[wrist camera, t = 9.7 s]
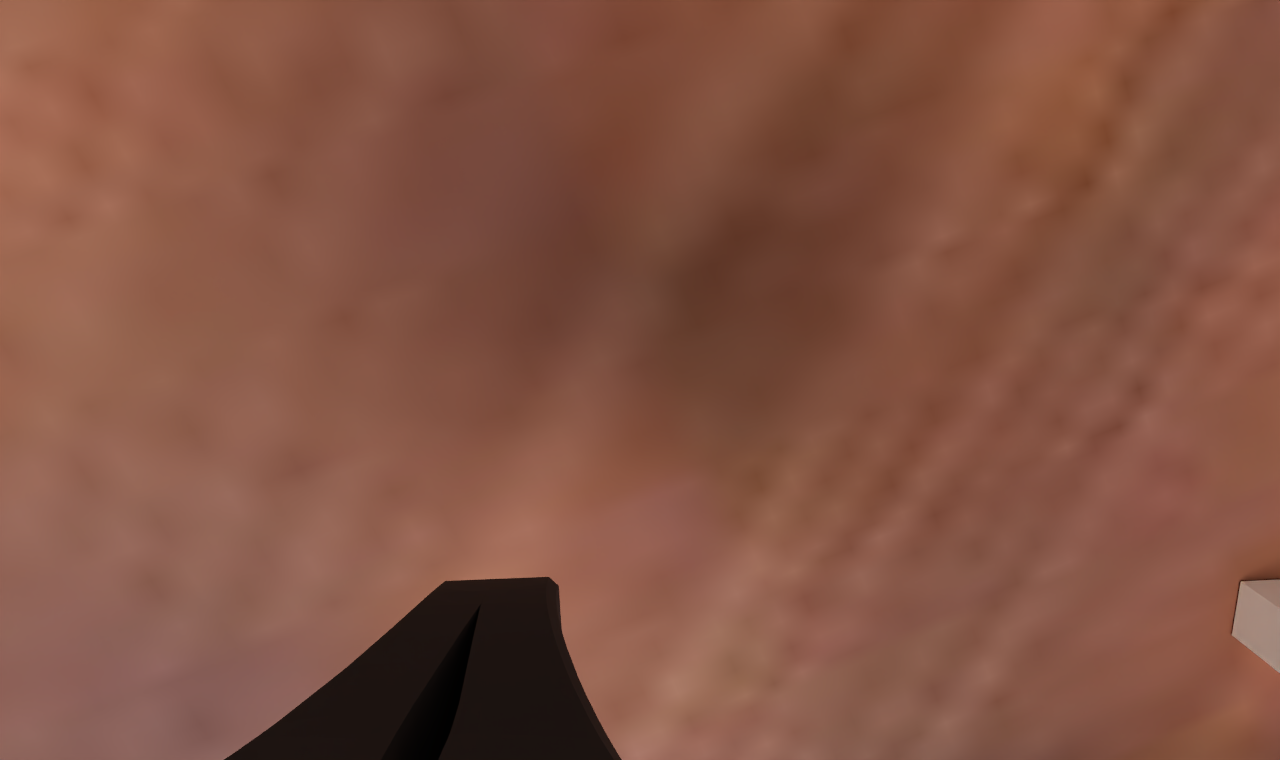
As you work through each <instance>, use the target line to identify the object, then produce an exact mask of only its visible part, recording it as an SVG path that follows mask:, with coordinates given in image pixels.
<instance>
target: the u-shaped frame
mask: <svg viewBox="0 0 1280 760" xmlns="http://www.w3.org/2000/svg"><path fill="white" fill-rule="evenodd" d="M1232 636H1233V637H1235V638H1236V639H1237V640H1238V641H1240V642H1241V643H1242V644H1244V645H1245V646H1246V647H1247V648H1249V649H1250V650H1251V651H1252V652H1254V653H1255V654H1256V655H1257V656H1259V657H1260V658H1261V659H1262V660H1264V661H1265V662H1266V663H1267V664H1269V665H1270V666H1271V667H1272V668H1274V669H1275V670H1276V671H1278V672H1279V673H1280V579H1278V580H1258V581H1241V583H1240V589H1239V595H1238V601H1237V607H1236V613H1235V619H1234V625H1233V631H1232Z"/></svg>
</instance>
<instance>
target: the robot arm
mask: <svg viewBox="0 0 1280 760" xmlns="http://www.w3.org/2000/svg"><path fill="white" fill-rule="evenodd" d="M224 760H621V758H620V757H619V755H618V753H617V752H616V750H615V748H614V747H613V745H612V743H611V742H610V740H609V738H608V736H607V735H606V733H605V731H604V729H603V727H602V726H601V724H600V722H599V720H598V718H597V716H596V714H595V712H594V710H593V708H592V706H591V704H590V702H589V700H588V698H587V696H586V694H585V692H584V689H583V687H582V685H581V683H580V680H579V678H578V676H577V673H576V670H575V668H574V665H573V663H572V660H571V657H570V655H569V652H568V650H567V647H566V644H565V640H564V637H563V634H562V630H561V615H560V600H559V586H558V585H557V584H556V583H555V582H554V581H553V580H552V579H550V578H549V577H536V578H511V579H486V580H461V581H445V582H444V583H443V584H441V585H440V586H439V587H437V588H436V589H435V590H434V591H433V592H432V593H430V594H429V595H428V596H427V597H426V598H425V599H424V600H423V601H421V602H420V603H419V604H418V605H417V606H416V607H415V608H414V609H413V610H411V611H410V612H409V613H408V614H407V615H406V616H405V617H404V618H403V619H401V620H400V621H399V622H398V623H397V624H396V625H395V626H394V627H393V628H391V629H390V630H389V631H388V632H387V633H386V634H385V635H383V636H382V637H381V638H380V639H379V640H378V641H377V642H375V643H374V644H373V645H372V646H371V647H370V648H369V649H367V650H366V651H365V652H364V653H363V654H362V655H361V656H359V657H358V658H357V659H356V660H355V661H354V662H353V663H351V664H350V665H349V666H348V667H347V668H345V669H344V670H343V671H342V672H341V673H339V674H338V675H337V676H335V677H334V678H333V679H332V680H330V681H329V682H328V683H327V684H325V685H324V686H323V687H321V688H320V689H319V690H318V691H316V692H315V693H314V694H313V695H311V696H310V697H309V698H308V699H306V700H305V701H304V702H302V703H301V704H300V705H299V706H297V707H296V708H295V709H294V710H292V711H291V712H290V713H288V714H287V715H286V716H285V717H283V718H282V719H281V720H280V721H278V722H277V723H276V724H274V725H273V726H272V727H270V728H269V729H267V730H266V731H265V732H263V733H262V734H261V735H259V736H258V737H256V738H255V739H254V740H252V741H251V742H249V743H248V744H246V745H245V746H243V747H242V748H241V749H239V750H238V751H236V752H235V753H233V754H232V755H230V756H229V757H227V758H226V759H224Z"/></svg>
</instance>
